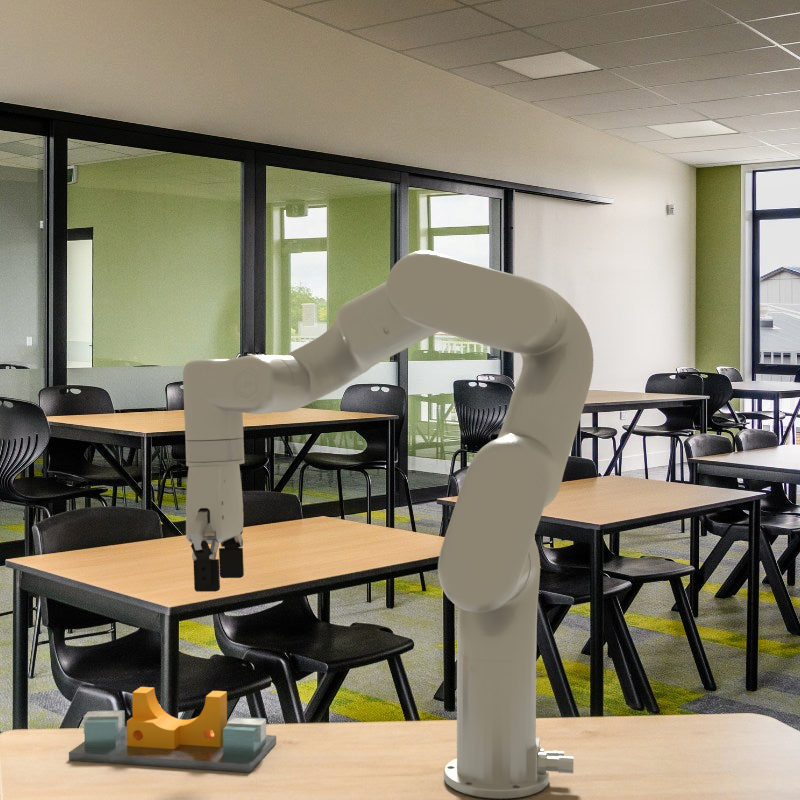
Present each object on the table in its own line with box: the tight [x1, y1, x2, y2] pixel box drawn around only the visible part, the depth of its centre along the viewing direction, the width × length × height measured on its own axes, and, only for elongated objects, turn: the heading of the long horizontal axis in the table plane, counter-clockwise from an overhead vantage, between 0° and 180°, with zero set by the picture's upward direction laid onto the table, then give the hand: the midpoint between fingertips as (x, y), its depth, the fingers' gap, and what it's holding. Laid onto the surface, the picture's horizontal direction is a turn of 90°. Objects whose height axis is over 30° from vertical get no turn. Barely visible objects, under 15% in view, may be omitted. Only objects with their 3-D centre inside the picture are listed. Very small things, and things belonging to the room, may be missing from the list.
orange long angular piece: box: [126, 686, 228, 749], centre depth 140 cm, size 12×4×6 cm, turn 80°
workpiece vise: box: [68, 709, 277, 774], centre depth 140 cm, size 24×11×4 cm, turn 80°
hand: (220, 584), depth 141 cm, fingers open, 9 cm apart
